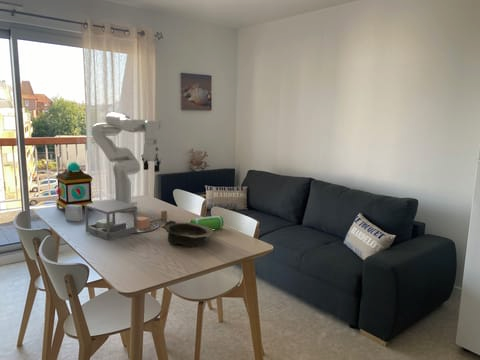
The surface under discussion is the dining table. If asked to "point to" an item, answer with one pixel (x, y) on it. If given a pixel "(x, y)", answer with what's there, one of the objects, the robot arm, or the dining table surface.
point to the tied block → (145, 222)
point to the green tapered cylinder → (209, 222)
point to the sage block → (103, 223)
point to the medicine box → (73, 213)
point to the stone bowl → (186, 233)
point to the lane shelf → (107, 209)
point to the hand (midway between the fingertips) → (151, 170)
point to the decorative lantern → (73, 187)
